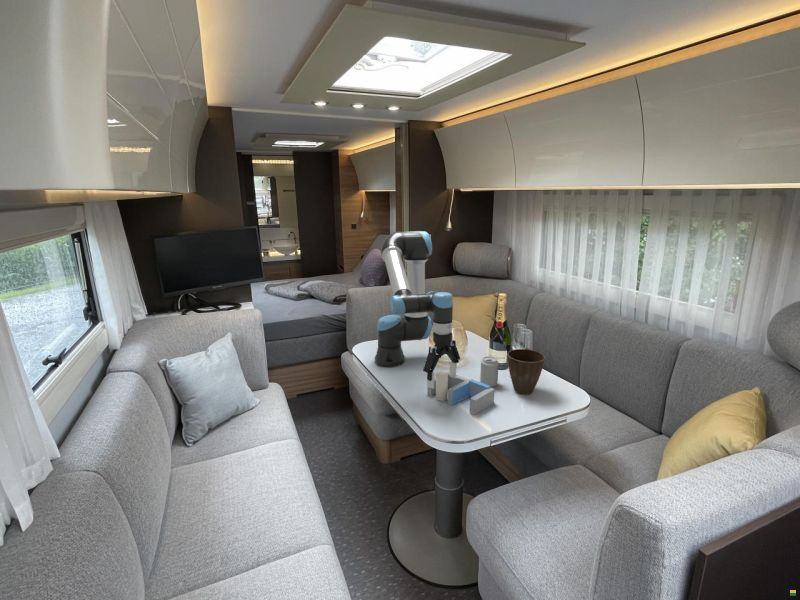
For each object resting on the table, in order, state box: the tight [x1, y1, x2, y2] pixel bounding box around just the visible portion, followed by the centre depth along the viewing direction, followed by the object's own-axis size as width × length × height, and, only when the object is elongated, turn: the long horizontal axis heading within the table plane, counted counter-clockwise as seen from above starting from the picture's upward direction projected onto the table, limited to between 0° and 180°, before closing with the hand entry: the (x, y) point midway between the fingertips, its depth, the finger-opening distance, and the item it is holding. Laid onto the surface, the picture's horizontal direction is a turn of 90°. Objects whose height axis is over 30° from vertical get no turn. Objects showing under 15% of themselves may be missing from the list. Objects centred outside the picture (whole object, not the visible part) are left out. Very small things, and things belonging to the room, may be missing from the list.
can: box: [479, 355, 499, 388], centre depth 173 cm, size 8×8×12 cm
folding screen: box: [426, 371, 496, 416], centre depth 161 cm, size 24×13×7 cm, turn 44°
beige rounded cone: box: [435, 370, 449, 402], centre depth 161 cm, size 5×5×11 cm
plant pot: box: [507, 348, 546, 395], centre depth 166 cm, size 15×15×16 cm
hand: (442, 382), depth 160 cm, fingers open, 13 cm apart
